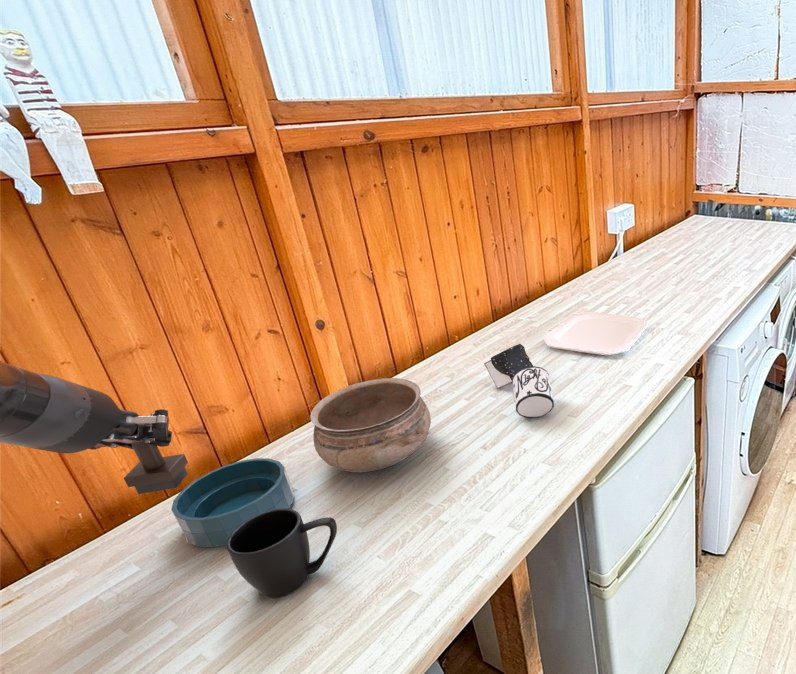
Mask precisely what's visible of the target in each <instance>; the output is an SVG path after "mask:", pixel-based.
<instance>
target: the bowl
mask: <svg viewBox="0 0 796 674" xmlns="http://www.w3.org/2000/svg"><path fill="white" fill-rule="evenodd" d="M291 483H292V482H291V480H290V478H289V475H288V473H287V470H286V467H285V466H284V465H283V463H281V462H280V461H279V460H276V459H272V458H264V457H262V458H261V457H259V458H258V457H256V458H250V459H242V460H239V461H235V462H233V463H232V462H231V463H229V464H226V465H223V466H221V467H218V468H216V469H214V470H210V471H209V472H207V473H205V474H203V475H202V476H200V477H198V478H197V479H195V480H192V482H190V483H189V484H188V485H187V486H185V487H184V488H183V489H182V490H180V492H179V493H178V494H177V496H176V497H175V498H174V499H173V501H172V505H171V512H172V514H173V516H174V518H175V520H176V522H177V524H178V525H179V528H180V529H181V531H182V533H183V535H184V537H185V539H186V540H187V542H188V543H189V544H192V545H194V546H196V547H198V548H199V547H201V548H203V547H204V548H215V547H220V546H226V543H227V540H228V538H229V536H230V535H231V533H232V532H233V531H234V530H235V529H236V528H237V527H238V526H240V525H241V524H242V523H244V522H245V521H247V520H248V519H250V518H252V517H254V516H256V515H258V514H261V513H264V512H266V511H270V510H274V509H281V508H288V509H291V506H292V504H293V502H294V500H295V493H294V492H295V491H294V488H293V486H292V484H291Z"/></svg>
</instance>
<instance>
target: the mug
mask: <svg viewBox="0 0 796 674" xmlns="http://www.w3.org/2000/svg"><path fill="white" fill-rule="evenodd" d="M319 527H327V528H329V537H328V540H327V543H326V545H325V548H324V550H323V551H322V553H321V554H320V556H318V558H317V559H315V560H314V561H311V560H310V558H311V552H310V550H311V549H310V541H309V537H308V531H310V530H312V529H316V528H319ZM337 531H338V526H337V521H336V520H335V518H333V517H331V516H329V517H326V516H325V517H321V518H317V519H314V520H311V521H308V522H305V523H304V521H303V518H302V516H301V514H300V512H299V511H297V510H295V509H293V508H289V509H288V508H281V509H274V510H270V511H266V512H264V513H261V514H258V515H256V516H254V517H252V518H250V519H248V520H247V521H245V522H244V523H242V524H241V525H240V526H238V527H237V528H236V529H235V530H234V531H233V532H232V533H231V535H230V536H229V538H228V540H227V543H226V545H225V547H226V551H227V553H228V555H229V557H230V560H231V561H232V563H233V565H234V567H235V569H236V570H237V572H238V573H239V574H240V576H241V577H242V578H243V579H244V580H245V581H246V582H247V583H248V584H249V585H250V586H251V587H253V588H254V589H255V590H257V591H258V592H259V593H261V594H262V596H263V597H265V598H268V599H280V598H283V597H286V596H289V595H291V594H293V593H294V592H296V591H297V590H298V589H300V588H301V587H302V586H303V585H304V584H305V583H306V582H307V580H308V578H309V576H310V575H312V574H315V573H316V572H317V571H318V570H319V569H320V568H321V567H322V566H323V564H324V563H325V560H326V558H327V556H328V554H329V552H330V549H331V547H332V545H333V544H334V541H335V540H336V539H335V538H336V535H337ZM310 561H311V562H310Z"/></svg>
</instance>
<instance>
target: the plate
mask: <svg viewBox="0 0 796 674" xmlns="http://www.w3.org/2000/svg"><path fill="white" fill-rule="evenodd" d="M648 327H649V323H648V322H647V321H645V320H644V319H643V318H641V317H640V316H633V315H632V316H630V315H622V314H615V313H605V312H597V311H588V310H587V311H581V312H576V313H571V314H569V316H567V317H566V318H564V320H562V321H561V322H560V323H559V324H558V325H556V326H555V327H554V328H552V329H551V330H550V331H549V332H547V334H545V335H544V336H543V337H542V340H543V342H544V343H545V345H546V346H547V347H549V348H553V349H558V350H565V351H571V352H577V353H583V354H584V353H586V354H592V355H600V356H612V355H617V354H622V353H626V352H628V351H630V349H631V348H632V347H633V346H634V345H635V343H636V342H637V341H638V339H639V338H640V337H641V336H642V335H643V333H644V332H645V331H646V329H648Z"/></svg>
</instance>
